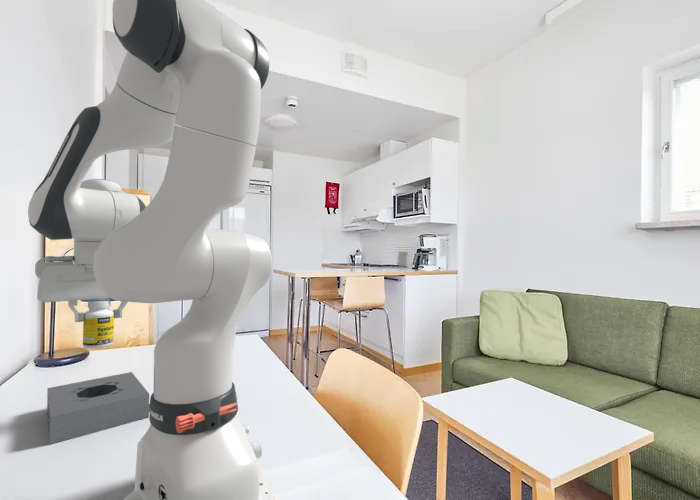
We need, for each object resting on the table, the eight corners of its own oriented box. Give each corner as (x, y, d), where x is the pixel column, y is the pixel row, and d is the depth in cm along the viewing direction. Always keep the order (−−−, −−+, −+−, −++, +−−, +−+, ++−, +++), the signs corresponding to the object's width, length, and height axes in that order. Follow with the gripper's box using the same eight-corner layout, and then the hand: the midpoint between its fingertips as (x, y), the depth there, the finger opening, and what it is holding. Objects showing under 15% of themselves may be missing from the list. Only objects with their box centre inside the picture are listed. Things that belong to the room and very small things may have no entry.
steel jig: (148, 417, 74) (149, 393, 75) (50, 444, 64) (50, 417, 64) (131, 391, 88) (131, 371, 88) (47, 410, 77) (47, 388, 77)
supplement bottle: (97, 350, 73) (98, 302, 73) (76, 348, 74) (76, 301, 74) (119, 343, 78) (120, 299, 78) (99, 341, 79) (99, 298, 79)
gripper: (35, 255, 67) (34, 328, 67) (154, 255, 81) (154, 315, 80) (35, 256, 72) (34, 324, 71) (148, 255, 85) (147, 312, 85)
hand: (99, 319), depth 76 cm, fingers closed on supplement bottle, 5 cm apart
